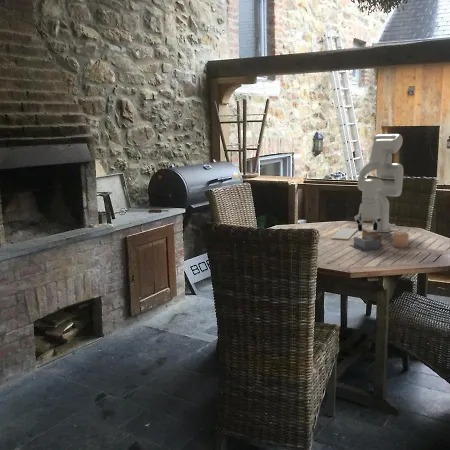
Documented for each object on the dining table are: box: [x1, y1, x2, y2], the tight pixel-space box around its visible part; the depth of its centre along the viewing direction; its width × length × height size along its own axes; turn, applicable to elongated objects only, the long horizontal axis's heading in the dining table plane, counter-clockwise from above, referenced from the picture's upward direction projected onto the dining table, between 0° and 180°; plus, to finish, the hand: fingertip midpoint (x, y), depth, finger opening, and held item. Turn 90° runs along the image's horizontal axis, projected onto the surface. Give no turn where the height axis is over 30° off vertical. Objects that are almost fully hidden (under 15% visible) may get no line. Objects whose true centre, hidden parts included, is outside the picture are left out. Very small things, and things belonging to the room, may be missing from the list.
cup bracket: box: [349, 236, 384, 252], centre depth 283 cm, size 12×14×5 cm
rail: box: [361, 228, 383, 247], centre depth 297 cm, size 4×20×6 cm, turn 5°
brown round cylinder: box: [392, 231, 410, 249], centre depth 284 cm, size 8×8×7 cm
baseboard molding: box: [330, 225, 358, 241], centre depth 318 cm, size 31×3×12 cm
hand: (367, 230), depth 299 cm, fingers open, 9 cm apart
